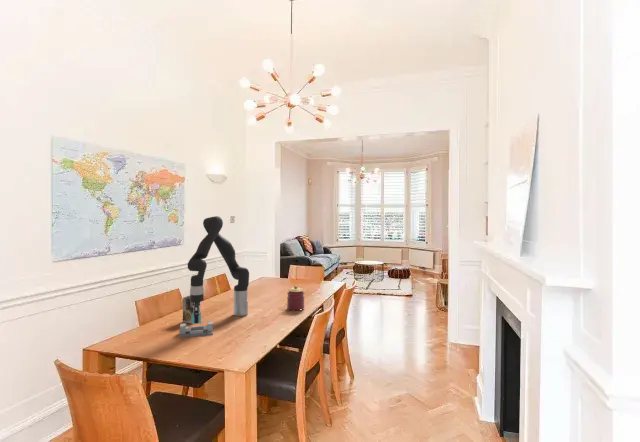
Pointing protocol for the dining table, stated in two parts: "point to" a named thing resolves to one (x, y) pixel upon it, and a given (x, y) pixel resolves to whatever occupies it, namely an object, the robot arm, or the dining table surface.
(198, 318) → the coupler
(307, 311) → the dining table surface
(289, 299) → the canister
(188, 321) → the coffee box
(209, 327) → the shaft bench
